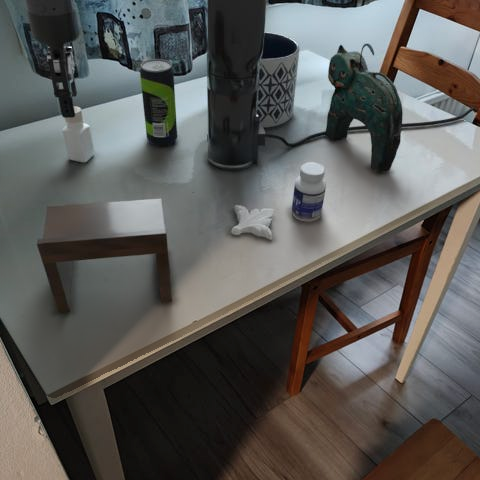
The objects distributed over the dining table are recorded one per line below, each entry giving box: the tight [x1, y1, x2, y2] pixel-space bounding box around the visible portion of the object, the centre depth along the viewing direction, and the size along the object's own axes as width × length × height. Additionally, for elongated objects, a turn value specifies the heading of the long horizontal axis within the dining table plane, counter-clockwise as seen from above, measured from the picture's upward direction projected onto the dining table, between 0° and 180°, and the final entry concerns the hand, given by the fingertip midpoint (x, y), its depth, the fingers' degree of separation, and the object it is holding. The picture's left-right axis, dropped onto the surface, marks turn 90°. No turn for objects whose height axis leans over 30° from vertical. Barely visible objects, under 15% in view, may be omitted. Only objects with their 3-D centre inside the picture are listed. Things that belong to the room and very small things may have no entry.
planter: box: [257, 31, 300, 129], centre depth 112 cm, size 16×16×14 cm
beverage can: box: [139, 58, 178, 147], centre depth 102 cm, size 6×6×15 cm
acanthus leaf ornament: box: [231, 204, 275, 241], centre depth 88 cm, size 8×7×2 cm
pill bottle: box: [291, 161, 327, 223], centre depth 88 cm, size 5×5×9 cm
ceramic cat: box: [325, 43, 404, 174], centre depth 100 cm, size 20×6×20 cm, turn 29°
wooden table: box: [36, 198, 173, 313], centre depth 74 cm, size 16×11×12 cm
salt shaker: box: [62, 105, 95, 163], centre depth 99 cm, size 4×4×10 cm
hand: (70, 105), depth 95 cm, fingers open, 8 cm apart
